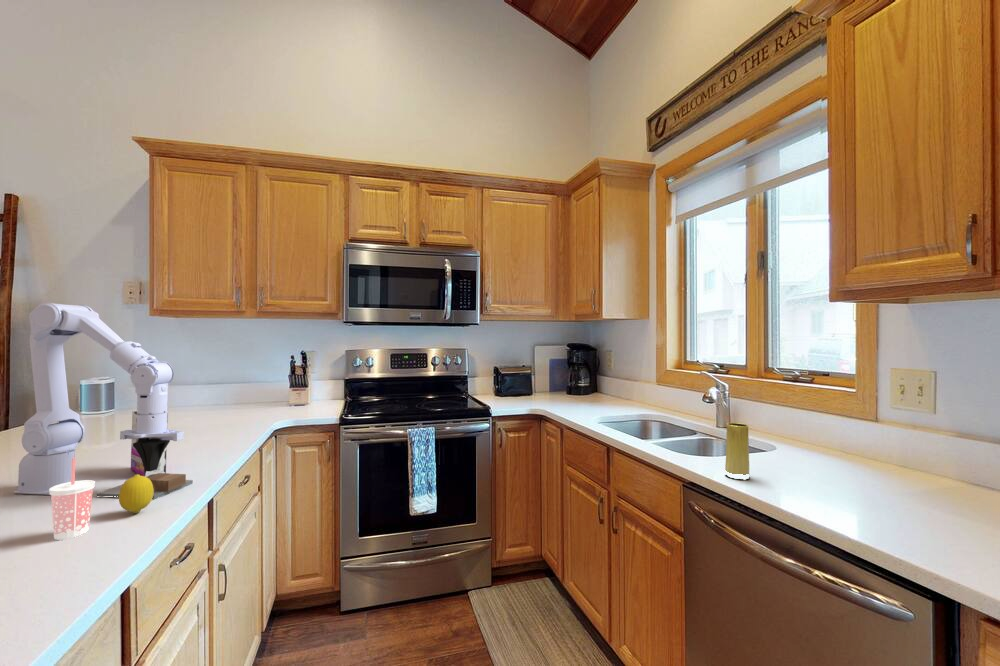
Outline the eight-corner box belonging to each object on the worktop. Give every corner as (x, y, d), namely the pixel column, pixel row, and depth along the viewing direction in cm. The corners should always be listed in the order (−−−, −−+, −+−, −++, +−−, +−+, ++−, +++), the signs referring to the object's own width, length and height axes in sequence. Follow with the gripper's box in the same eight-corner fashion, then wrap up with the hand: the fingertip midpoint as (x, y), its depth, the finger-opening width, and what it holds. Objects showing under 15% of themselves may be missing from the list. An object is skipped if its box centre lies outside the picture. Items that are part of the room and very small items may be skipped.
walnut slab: (140, 479, 102) (168, 480, 101) (158, 473, 107) (185, 474, 106) (140, 490, 102) (168, 491, 101) (158, 483, 107) (185, 484, 106)
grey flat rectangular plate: (96, 496, 99) (96, 493, 99) (140, 481, 110) (140, 478, 110) (154, 499, 98) (154, 495, 98) (192, 483, 109) (192, 480, 109)
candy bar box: (167, 473, 116) (168, 412, 117) (144, 478, 112) (145, 414, 113) (152, 466, 123) (153, 407, 123) (129, 470, 119) (131, 410, 119)
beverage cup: (91, 524, 85) (92, 452, 85) (97, 533, 81) (98, 457, 81) (45, 535, 80) (47, 458, 80) (50, 545, 76) (51, 464, 77)
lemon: (133, 520, 87) (134, 479, 87) (111, 517, 88) (112, 477, 88) (160, 509, 93) (160, 471, 93) (138, 507, 94) (139, 469, 94)
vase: (721, 473, 123) (721, 421, 123) (744, 474, 122) (744, 422, 122) (729, 479, 117) (729, 426, 117) (754, 481, 116) (754, 427, 116)
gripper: (108, 415, 101) (106, 474, 101) (166, 416, 100) (165, 476, 100) (135, 410, 108) (134, 465, 108) (191, 411, 107) (189, 467, 107)
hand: (151, 470), depth 104 cm, fingers closed
